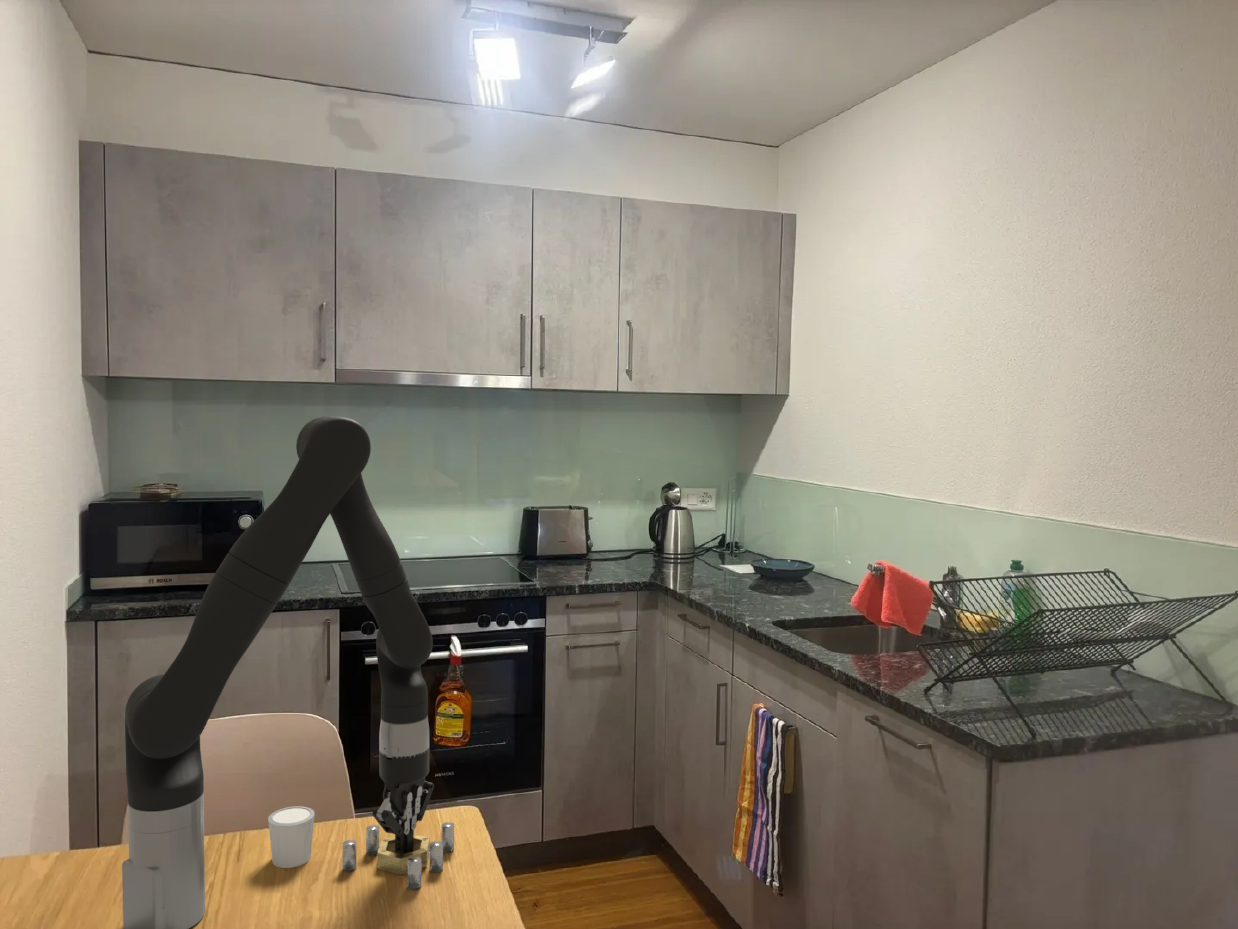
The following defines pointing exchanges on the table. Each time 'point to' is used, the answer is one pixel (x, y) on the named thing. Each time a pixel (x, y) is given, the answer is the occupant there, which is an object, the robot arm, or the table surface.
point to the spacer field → (413, 862)
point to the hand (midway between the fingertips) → (404, 854)
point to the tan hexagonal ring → (398, 862)
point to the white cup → (291, 836)
